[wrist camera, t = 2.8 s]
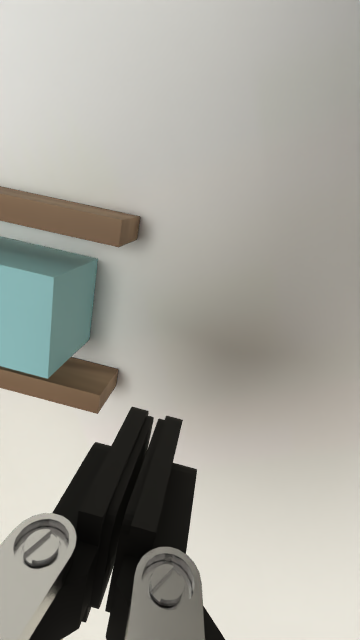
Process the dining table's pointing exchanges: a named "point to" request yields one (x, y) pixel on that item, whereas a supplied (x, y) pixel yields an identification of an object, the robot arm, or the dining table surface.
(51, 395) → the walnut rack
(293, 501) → the dining table surface
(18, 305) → the teal block
